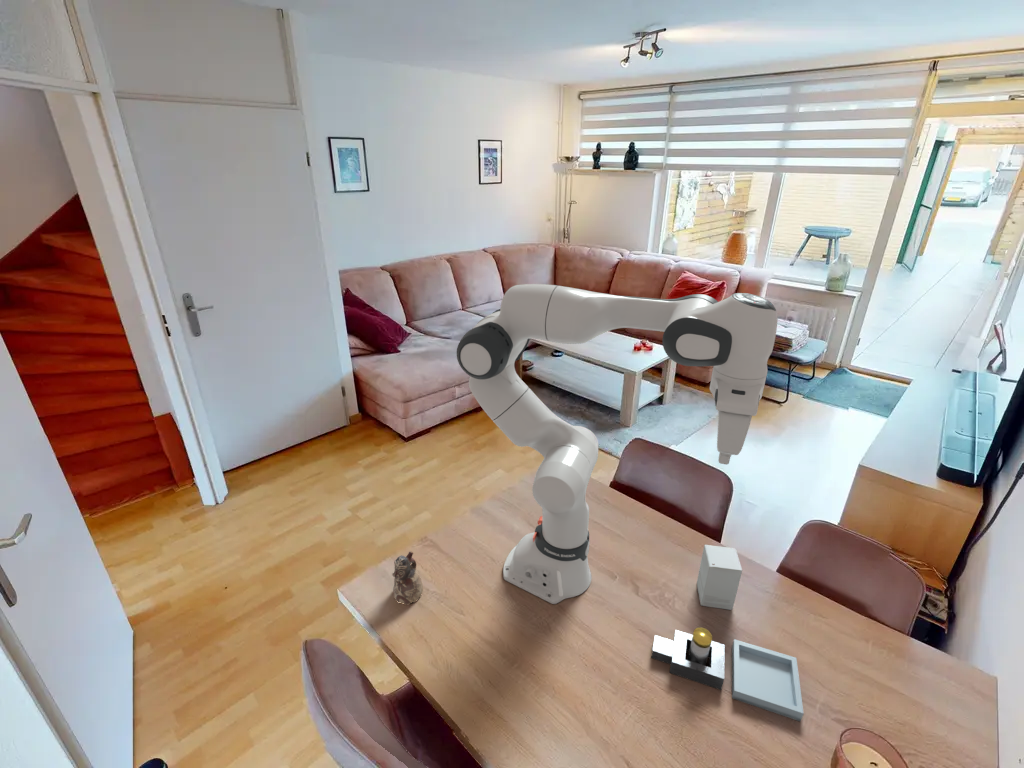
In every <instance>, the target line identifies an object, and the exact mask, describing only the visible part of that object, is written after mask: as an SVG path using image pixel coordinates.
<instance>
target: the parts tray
mask: <svg viewBox="0 0 1024 768" xmlns="http://www.w3.org/2000/svg"><path fill="white" fill-rule="evenodd" d="M797 659H798V658H797V657H796V656H792V655H790V654H789V655H788V654H785V653H781V652H778V651H775V650H772V649H768V648H765V647H762V646H759V645H755V644H751V643H748V642H745V641H742V640H739V639H735V638H734V639H733V642H732V645H731V698H732V700H736V701H738V702H741V703H745V704H747V705H750V706H754V707H756V708H759V709H761V710H762V709H763V710H766V711H768V712H770V713H775V714H777V715H780V716H782V717H786V718H789V719H792V720H795V721H797V722H801V721H802V719H803V716H804V707H803V698H802V690H801V682H800V676H799V674H800V673H799V667H798V660H797Z"/></svg>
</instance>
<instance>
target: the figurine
mask: <svg viewBox="0 0 1024 768" xmlns="http://www.w3.org/2000/svg"><path fill="white" fill-rule="evenodd" d="M413 555H414V552H413V551H411V550H410V551H408V553H407V555H403V554H402V555H399V556H398V557H397V558H396V559H395V560H394V562H393V563H394V564H393V565H394V571H393V572H392V573H391V575H392V577H393V580H394V581H393V584H394V585H393V589H392V590H393V598H395V599H396V600H397V601H398V602H401V603H404V604H410V603H412V602H415V601H416V600H417V599H418V600H419V599H420V598H421V597H422V595H423V591H424V585H423V581H422V577H421V575H420V574H419V571H418V570H417V561H416V560H415V559H414V558H413ZM421 594H422V595H421ZM420 596H421V597H420ZM419 597H420V598H419ZM395 599H394V600H395ZM396 600H395V601H396ZM418 600H417V601H418ZM417 601H416V602H417ZM416 602H415V603H416Z"/></svg>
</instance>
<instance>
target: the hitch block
mask: <svg viewBox="0 0 1024 768" xmlns="http://www.w3.org/2000/svg"><path fill="white" fill-rule="evenodd" d="M692 637H693V634H691V633H688V632H684V631H681V630H678V629H675V630H674V636H673V639H669V638H668V637H667V638H666V637H663V636H660V635H656V634H654V638H653V644H652V651H651V659H653V660H657V661H660V662H663V663H666V664H668V665H670V667H669V673H670V674H672V675H675V676H678V677H681V678H684V679H688V680H689V681H693V682H697V684H698V683H699V684H702V685H705V686H707V687H711V688H714V689H716V690H720V691H722V690H723V686H724V682H725V664H726V663H725V657H726V656H725V654H726V653H725V649H726V648H725V647H726V645H725V644H724V643H720V642H717V641H714V640H712V642H711V646H710V650H709V654H708V658H707V659H708V666H704V665H701V664H697V663H694V662H691V661H688V659H686V656H687V655H686V653H687V652H689V651H690V646H691V641H692Z"/></svg>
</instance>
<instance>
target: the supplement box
mask: <svg viewBox="0 0 1024 768" xmlns="http://www.w3.org/2000/svg"><path fill="white" fill-rule="evenodd" d="M701 554H702V555H701V560H700V563H699V565H700V566H699V570H698V576H697V581H696V587H697V592H698V599H699V602H700V603H699V604H700V606H703V607H708V608H716V609H723V610H730V611H732V610H733V609H734V604H735V602H736V597H737V594H738V588H739V584H740V581H741V577H742V573H743V568H742V564H741V562H740V561H741V560H740V558H739V555H738V551H737V548H736V547H735V548H733V547H729V546H720V545H710V544H704V546H703V550H702V553H701Z"/></svg>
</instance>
